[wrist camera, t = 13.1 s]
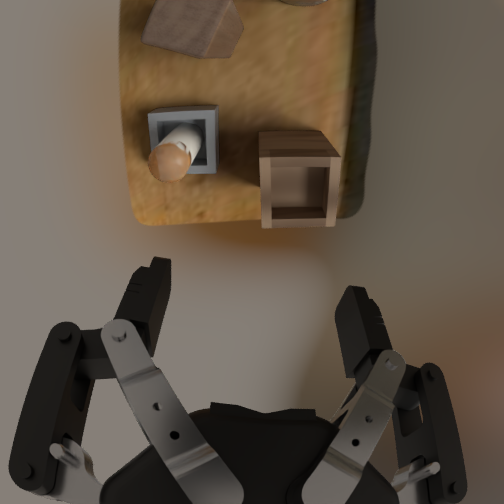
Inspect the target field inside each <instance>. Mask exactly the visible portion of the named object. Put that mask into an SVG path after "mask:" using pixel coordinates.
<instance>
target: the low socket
mask: <svg viewBox="0 0 504 504" xmlns="http://www.w3.org/2000/svg"><path fill="white" fill-rule="evenodd" d="M148 123H149V134H150V144H151V152H152V151H153V149H154V148H155V147H156V146H157V145H158V144H159V143H160V142H161V141H162V140H163V139H164V138H165V137H166V136H167V135H168V134H169V133H170V132H171V131H172V130H173V129H175V128H176V127H177V126H178V125H179V124H182V123H193V124H195V125H197V126H198V127H199V128H200V129H201V130H202V132H203V136H204V141H203V144H202V146H201V148H200V150H199V151H198V153H197V155H196V157H195V158H194V160H193V162H192V164H191V166H190V167H189V169H188V171H187V173H186V174H216V172H217V169H218V166H219V117H218V105H204V106H182V107H167V108H157V109H155V110H153V111H152V112H150V113H148Z"/></svg>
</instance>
